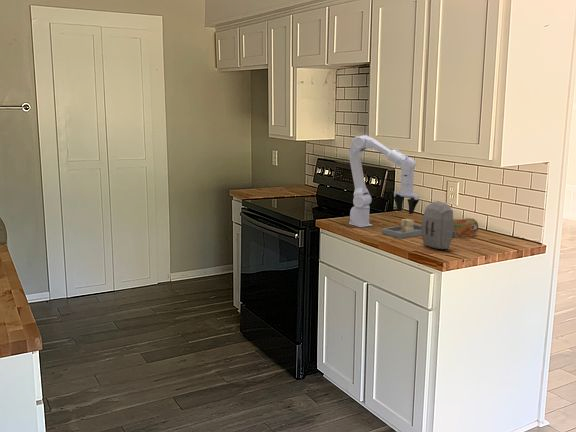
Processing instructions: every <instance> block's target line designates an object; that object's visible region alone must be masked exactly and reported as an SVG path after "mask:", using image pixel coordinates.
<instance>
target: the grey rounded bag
mask: <svg viewBox="0 0 576 432" xmlns="http://www.w3.org/2000/svg"><path fill="white" fill-rule="evenodd" d="M453 219H454V211H453V209H452V207H451V206H450V205H449V204H448V203H446V202H443V201H439V200H437V201H435V200H434V201H432V202H430V203H429V204H428V205H427V206H426V207H425V209H424V213H423V215H422V223H421V224H420V226H421V234H422V235H421V237H422V242H423V244H424V245H425V246H428V247H430V248H432V249H437V250H447V249H449V248H450V246H451V243H452V240H453V236H452V234H453Z"/></svg>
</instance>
